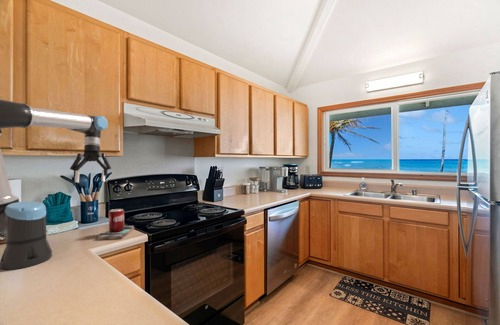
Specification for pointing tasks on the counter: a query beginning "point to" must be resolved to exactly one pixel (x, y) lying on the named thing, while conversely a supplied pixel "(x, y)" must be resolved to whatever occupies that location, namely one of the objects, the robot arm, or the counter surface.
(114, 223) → the soda can
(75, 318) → the counter surface
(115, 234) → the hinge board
